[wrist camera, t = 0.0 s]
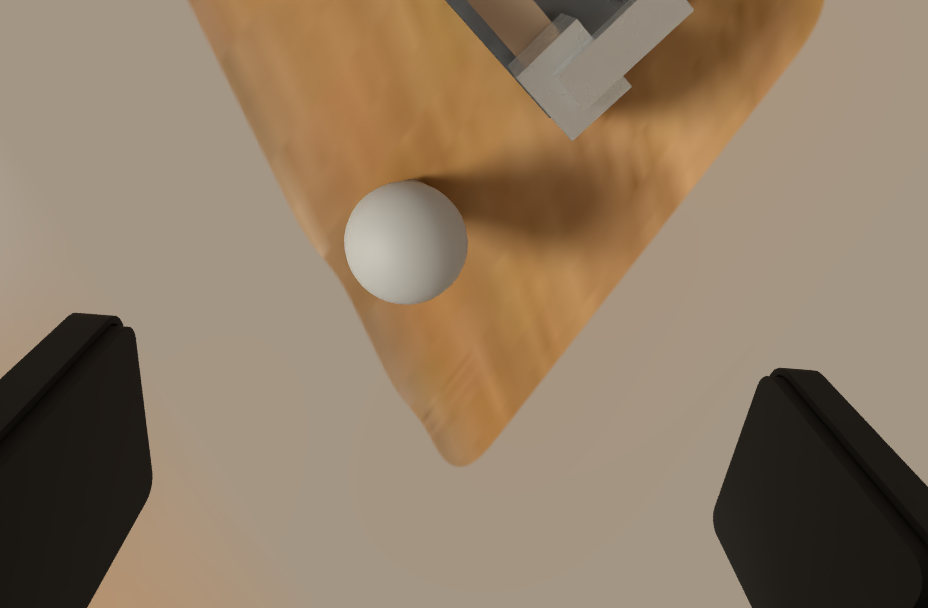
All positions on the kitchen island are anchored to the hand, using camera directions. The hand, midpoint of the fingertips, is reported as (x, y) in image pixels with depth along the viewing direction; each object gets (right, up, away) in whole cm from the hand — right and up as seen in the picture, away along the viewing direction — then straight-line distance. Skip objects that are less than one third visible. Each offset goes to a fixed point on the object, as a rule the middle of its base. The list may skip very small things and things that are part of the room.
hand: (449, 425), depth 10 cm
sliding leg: (+6, +16, +25) cm, 31 cm away
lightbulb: (-3, +8, +31) cm, 32 cm away
